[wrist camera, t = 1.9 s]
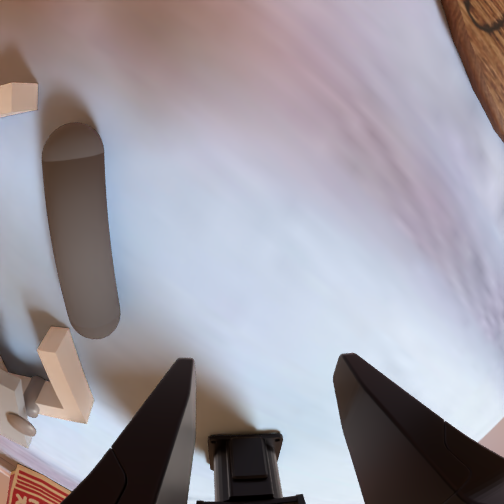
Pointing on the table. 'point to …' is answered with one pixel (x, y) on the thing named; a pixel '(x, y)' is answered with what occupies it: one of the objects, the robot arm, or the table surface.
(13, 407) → the cover
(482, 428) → the table surface
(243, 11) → the table surface
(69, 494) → the robot arm
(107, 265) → the grey capsule bar
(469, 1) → the trivet
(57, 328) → the long open tray
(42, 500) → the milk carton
